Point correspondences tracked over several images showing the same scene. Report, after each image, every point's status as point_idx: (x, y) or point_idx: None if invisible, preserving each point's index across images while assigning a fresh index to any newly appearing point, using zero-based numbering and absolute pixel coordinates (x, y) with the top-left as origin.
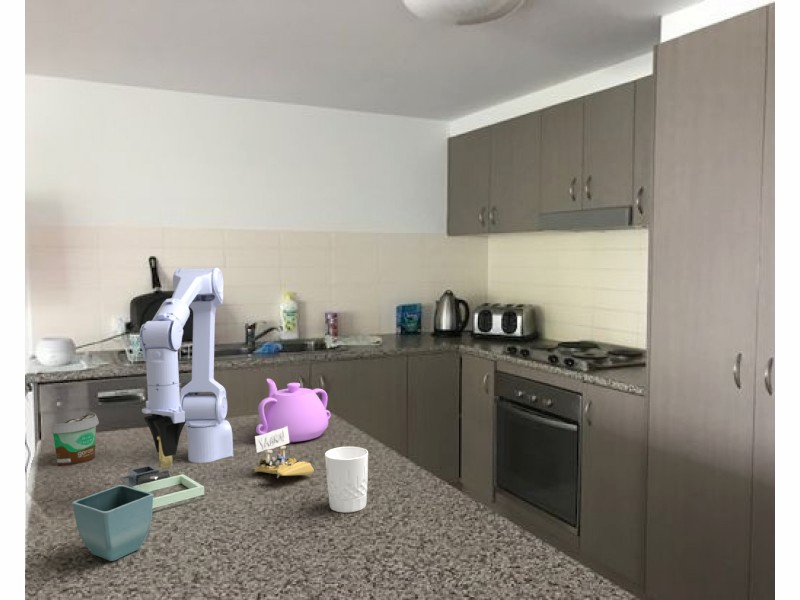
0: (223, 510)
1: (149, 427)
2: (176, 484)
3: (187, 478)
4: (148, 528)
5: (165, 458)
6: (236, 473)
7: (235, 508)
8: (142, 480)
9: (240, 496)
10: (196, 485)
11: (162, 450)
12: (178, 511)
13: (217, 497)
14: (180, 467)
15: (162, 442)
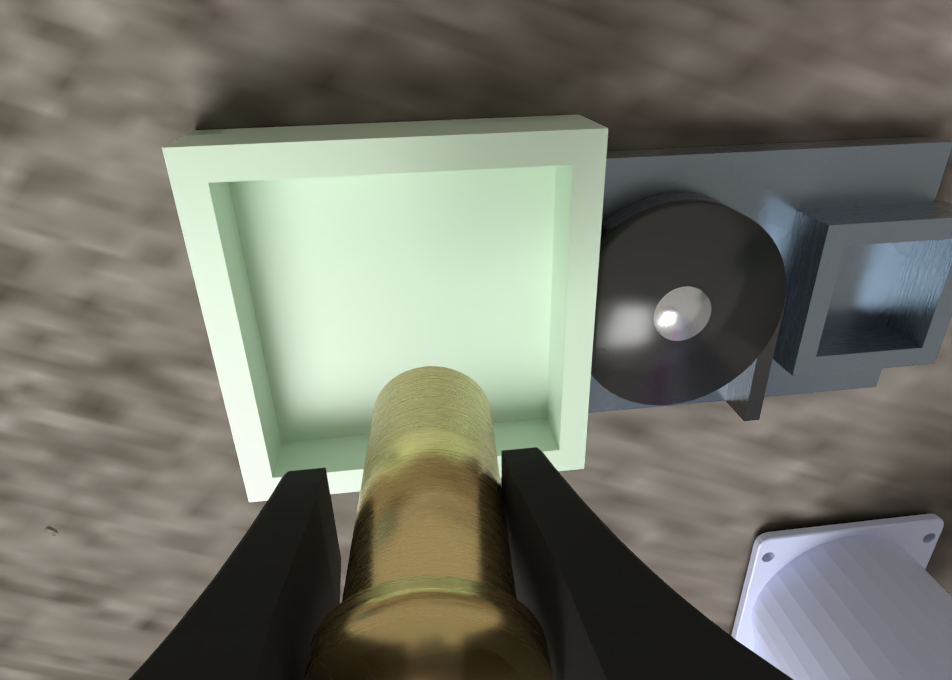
0: (16, 477)
1: (748, 675)
2: (549, 396)
3: None
4: None
5: (367, 457)
6: None
7: (16, 528)
8: (688, 231)
9: (196, 586)
10: None
11: (310, 501)
12: (141, 281)
13: (253, 505)
14: (863, 484)
15: (204, 600)
